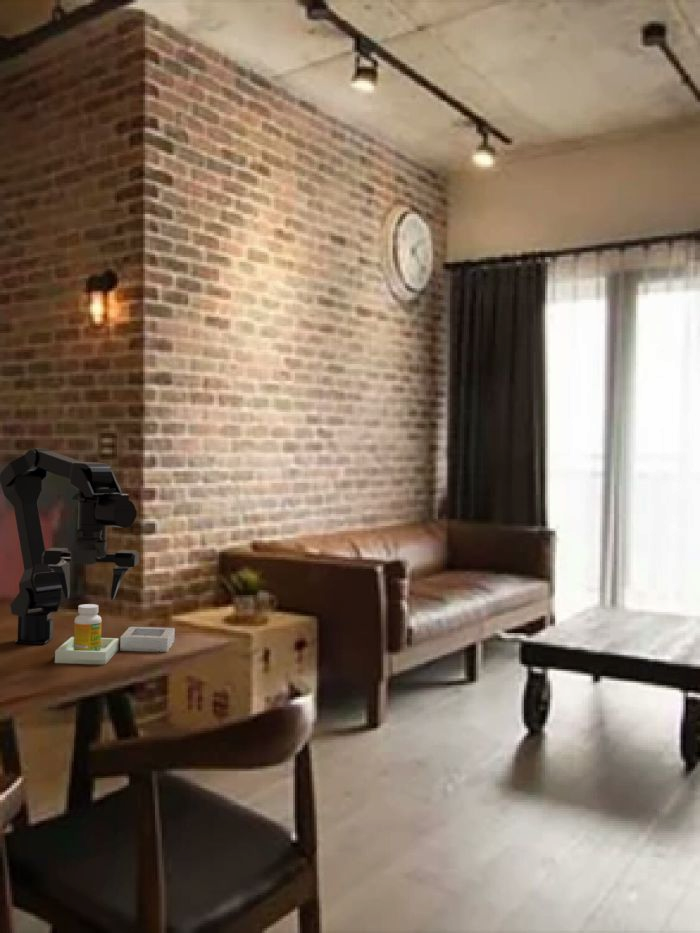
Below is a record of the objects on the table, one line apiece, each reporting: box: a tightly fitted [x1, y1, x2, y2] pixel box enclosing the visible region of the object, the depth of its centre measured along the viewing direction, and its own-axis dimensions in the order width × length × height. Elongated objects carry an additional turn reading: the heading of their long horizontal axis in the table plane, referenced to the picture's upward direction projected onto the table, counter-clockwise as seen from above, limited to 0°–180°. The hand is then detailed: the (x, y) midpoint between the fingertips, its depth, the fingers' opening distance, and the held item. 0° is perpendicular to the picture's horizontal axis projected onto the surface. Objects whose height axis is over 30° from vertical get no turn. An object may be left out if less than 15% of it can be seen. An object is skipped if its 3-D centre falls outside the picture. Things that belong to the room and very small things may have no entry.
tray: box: [54, 636, 120, 665], centre depth 180 cm, size 10×12×2 cm
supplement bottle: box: [73, 603, 103, 651], centre depth 180 cm, size 5×5×10 cm
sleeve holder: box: [119, 626, 176, 653], centre depth 191 cm, size 10×10×3 cm
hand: (90, 598), depth 180 cm, fingers open, 9 cm apart
